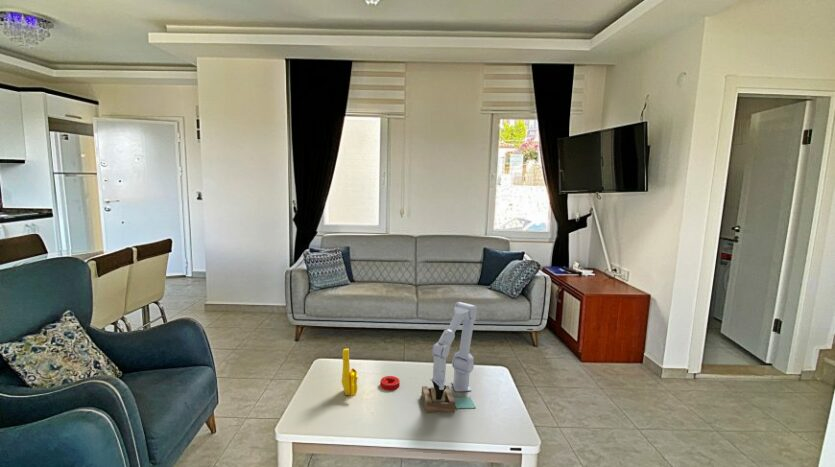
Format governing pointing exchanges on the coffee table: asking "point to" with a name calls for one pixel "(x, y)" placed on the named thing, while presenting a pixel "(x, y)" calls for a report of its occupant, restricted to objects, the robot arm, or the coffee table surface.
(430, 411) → the slotted box
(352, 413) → the coffee table surface
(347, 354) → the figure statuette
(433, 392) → the maple block
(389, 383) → the decorative ornament
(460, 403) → the teal mat
